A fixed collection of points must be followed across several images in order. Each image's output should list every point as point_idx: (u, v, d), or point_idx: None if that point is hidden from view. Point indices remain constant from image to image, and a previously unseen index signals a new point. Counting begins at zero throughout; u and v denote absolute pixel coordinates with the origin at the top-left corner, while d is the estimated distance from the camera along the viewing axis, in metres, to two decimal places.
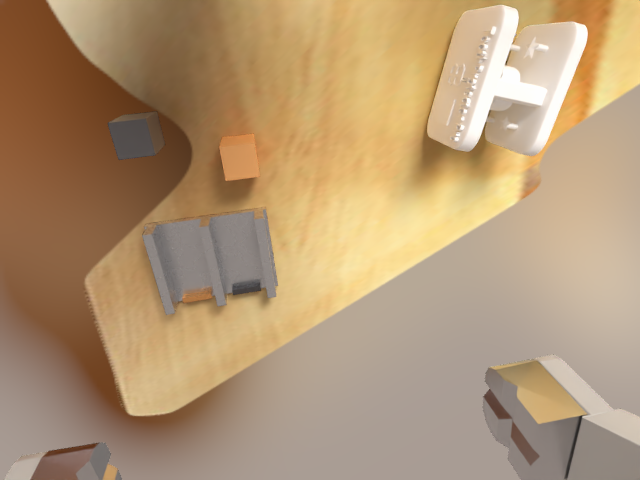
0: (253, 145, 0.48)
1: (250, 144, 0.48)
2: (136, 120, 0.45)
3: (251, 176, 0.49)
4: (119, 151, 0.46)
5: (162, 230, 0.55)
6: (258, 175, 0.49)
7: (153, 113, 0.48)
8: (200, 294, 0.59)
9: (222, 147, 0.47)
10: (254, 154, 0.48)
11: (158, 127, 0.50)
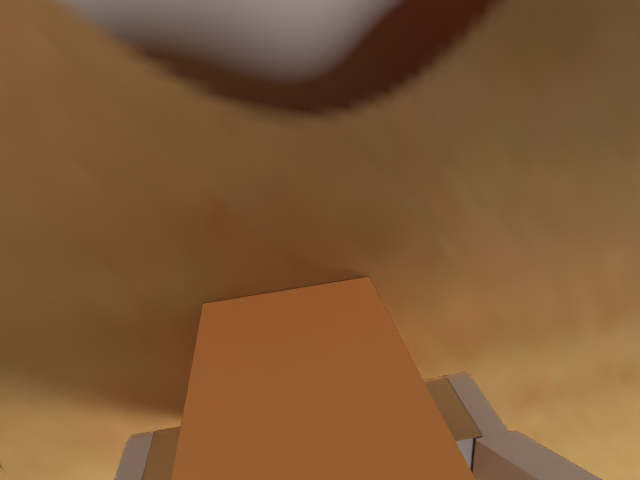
0: None
1: None
2: None
3: None
4: None
5: None
6: None
7: None
8: None
9: None
10: None
11: None
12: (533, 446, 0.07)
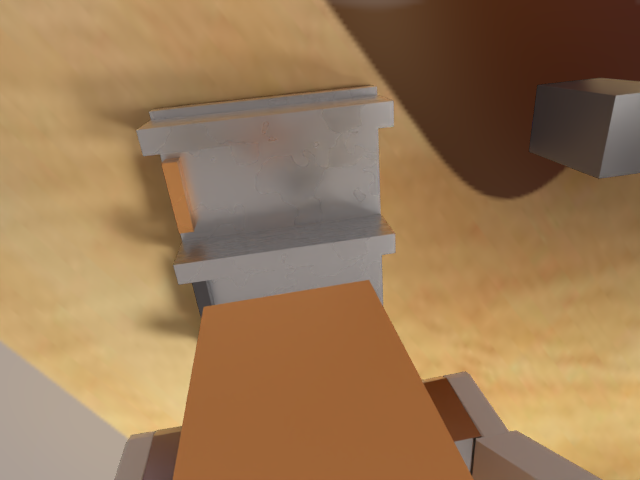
0: None
1: None
2: None
3: None
4: (631, 101, 0.20)
5: None
6: None
7: None
8: (188, 207, 0.23)
9: None
10: None
11: None
12: (533, 446, 0.07)
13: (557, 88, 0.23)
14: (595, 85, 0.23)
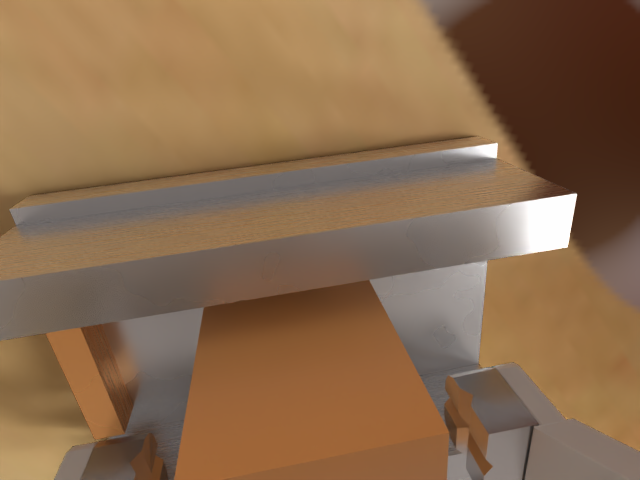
0: None
1: None
2: None
3: None
4: None
5: None
6: None
7: None
8: (110, 391, 0.11)
9: (441, 447, 0.06)
10: None
11: None
12: (593, 433, 0.07)
13: None
14: None
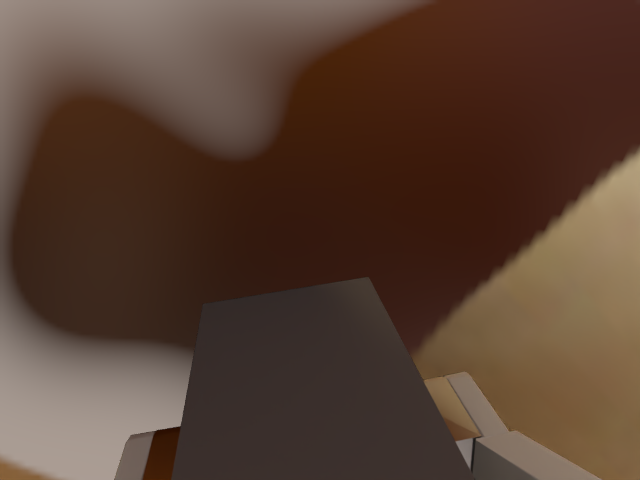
0: None
1: None
2: None
3: None
4: None
5: None
6: None
7: None
8: None
9: None
10: None
11: None
12: (533, 446, 0.07)
13: (195, 356, 0.08)
14: (283, 363, 0.08)
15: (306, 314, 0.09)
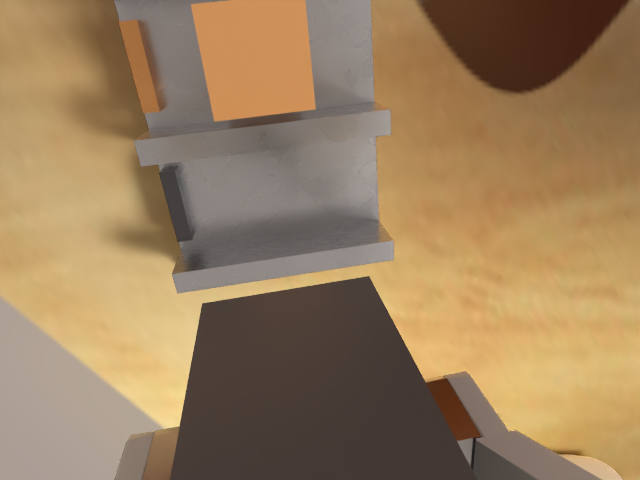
0: (308, 106, 0.16)
1: (311, 97, 0.16)
2: None
3: (212, 95, 0.16)
4: None
5: None
6: (217, 117, 0.16)
7: None
8: (153, 80, 0.20)
9: (303, 5, 0.15)
10: (281, 108, 0.16)
11: None
12: (533, 446, 0.07)
13: (194, 356, 0.08)
14: (283, 363, 0.08)
15: (306, 314, 0.09)
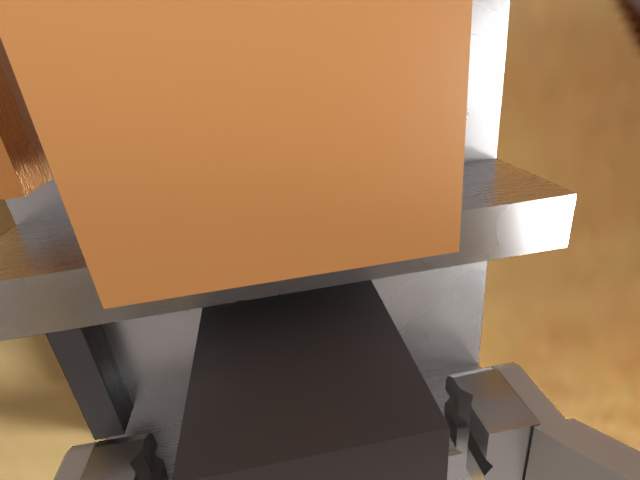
0: (435, 244, 0.05)
1: (449, 216, 0.05)
2: None
3: (88, 225, 0.04)
4: None
5: None
6: (114, 295, 0.04)
7: None
8: (1, 125, 0.08)
9: None
10: (346, 254, 0.05)
11: None
12: (593, 433, 0.07)
13: (202, 313, 0.09)
14: (279, 317, 0.09)
15: None
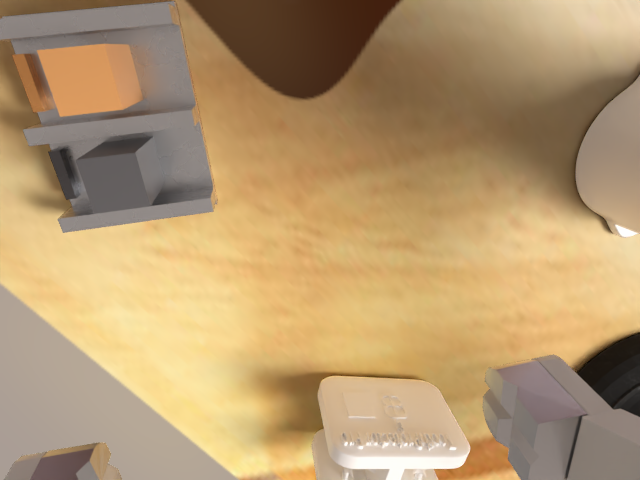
0: (117, 107, 0.28)
1: (118, 102, 0.28)
2: (145, 193, 0.30)
3: (57, 101, 0.27)
4: (90, 163, 0.29)
5: (168, 33, 0.32)
6: (61, 114, 0.27)
7: (160, 189, 0.34)
8: (38, 91, 0.31)
9: (104, 50, 0.26)
10: (101, 108, 0.28)
11: None
12: None
13: (95, 147, 0.32)
14: (115, 146, 0.32)
15: (128, 141, 0.33)
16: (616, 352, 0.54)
